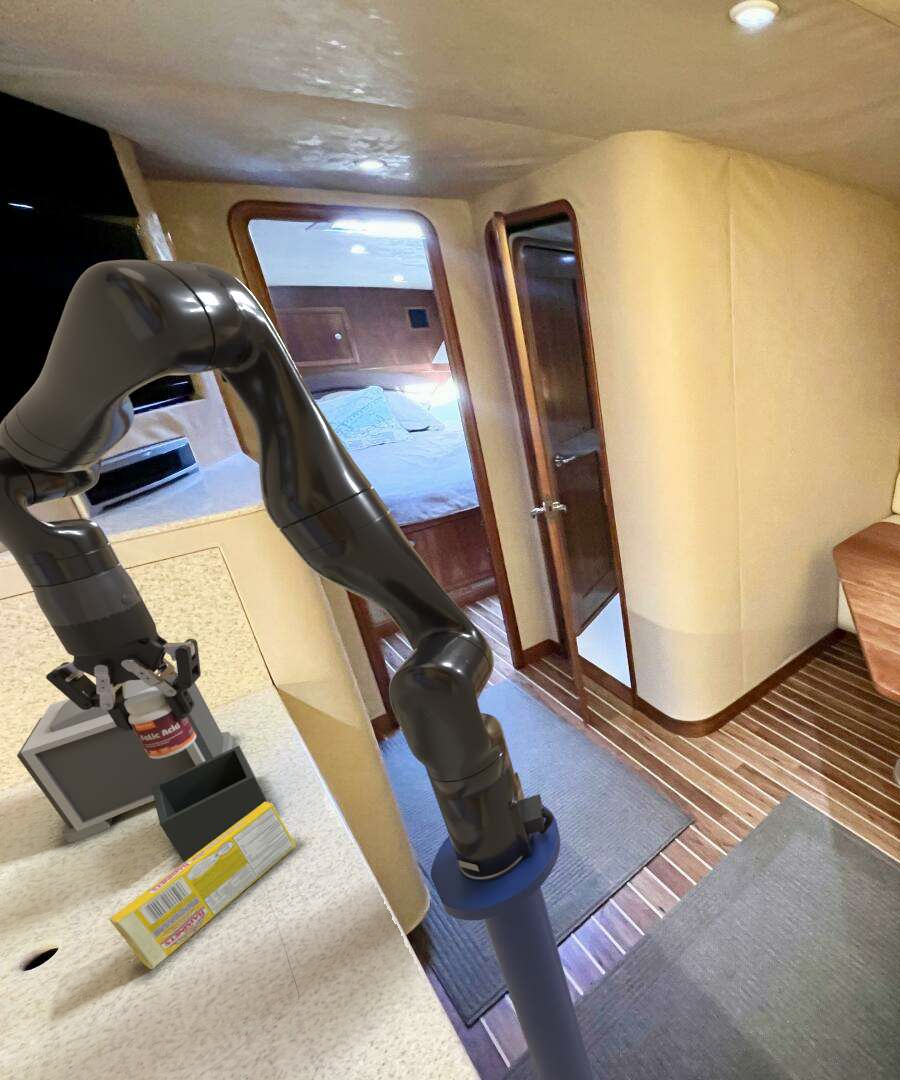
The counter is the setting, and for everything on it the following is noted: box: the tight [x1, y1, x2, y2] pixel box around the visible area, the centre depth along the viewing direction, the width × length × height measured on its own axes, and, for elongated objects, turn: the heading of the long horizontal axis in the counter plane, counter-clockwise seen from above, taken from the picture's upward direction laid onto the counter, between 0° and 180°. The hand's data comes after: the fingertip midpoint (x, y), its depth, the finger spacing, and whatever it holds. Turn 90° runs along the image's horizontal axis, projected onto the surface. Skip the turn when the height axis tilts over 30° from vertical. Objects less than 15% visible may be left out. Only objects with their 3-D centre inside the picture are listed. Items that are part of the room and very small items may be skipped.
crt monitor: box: [16, 665, 234, 844], centre depth 84 cm, size 18×13×18 cm
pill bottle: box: [124, 687, 196, 759], centre depth 70 cm, size 5×5×8 cm
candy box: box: [108, 801, 297, 970], centre depth 66 cm, size 16×2×8 cm, turn 161°
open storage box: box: [152, 745, 268, 863], centre depth 78 cm, size 10×10×8 cm
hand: (159, 720), depth 70 cm, fingers closed on pill bottle, 4 cm apart
